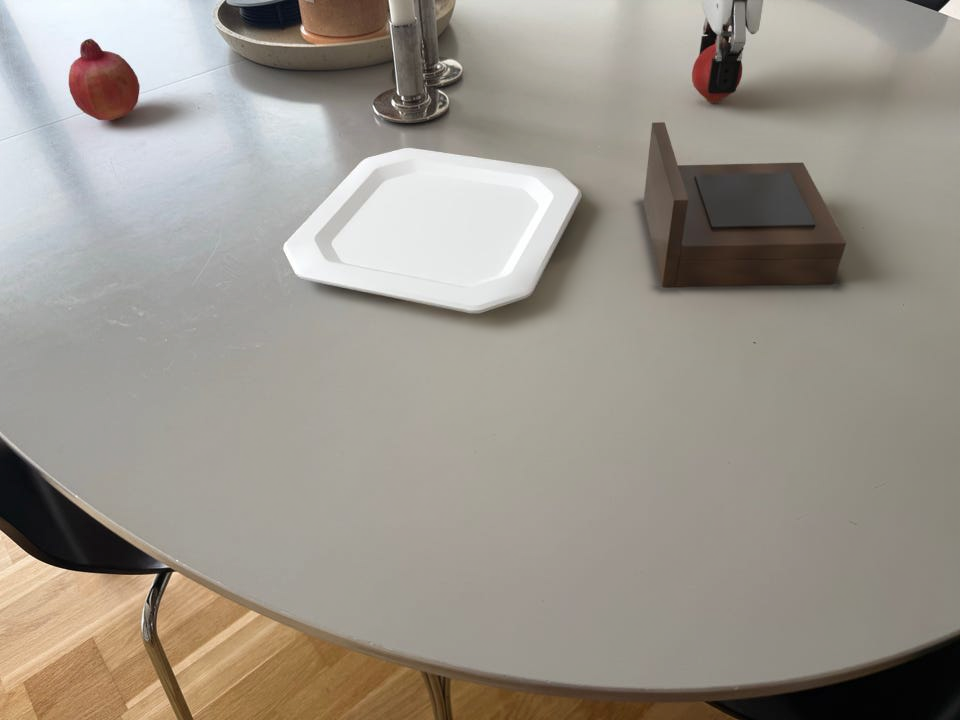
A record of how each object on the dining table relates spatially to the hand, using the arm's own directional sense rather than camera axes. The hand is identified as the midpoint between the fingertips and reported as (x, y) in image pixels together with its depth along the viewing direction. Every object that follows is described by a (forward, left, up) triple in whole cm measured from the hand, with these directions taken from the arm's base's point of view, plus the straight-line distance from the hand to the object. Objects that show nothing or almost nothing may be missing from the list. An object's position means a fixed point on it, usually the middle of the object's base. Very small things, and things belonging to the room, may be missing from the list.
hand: (716, 78), depth 98 cm
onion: (0, 0, -3) cm, 3 cm away
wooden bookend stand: (+3, +30, -3) cm, 30 cm away
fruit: (+75, 0, -3) cm, 75 cm away
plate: (+32, +28, -3) cm, 43 cm away
